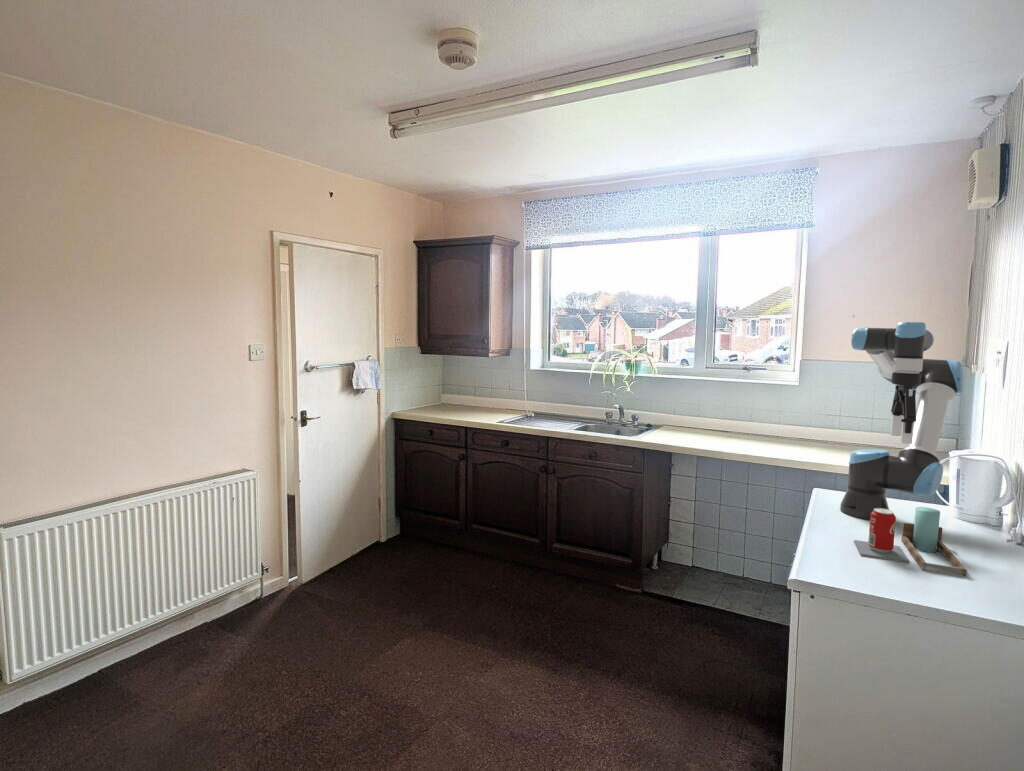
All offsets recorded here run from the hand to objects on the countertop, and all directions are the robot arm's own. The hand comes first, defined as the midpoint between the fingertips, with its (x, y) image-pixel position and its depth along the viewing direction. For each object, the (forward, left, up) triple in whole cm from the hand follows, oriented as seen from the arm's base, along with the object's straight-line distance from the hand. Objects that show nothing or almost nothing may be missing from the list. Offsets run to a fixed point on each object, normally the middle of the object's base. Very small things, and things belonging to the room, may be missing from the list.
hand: (900, 439), depth 180 cm
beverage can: (+16, -6, -31) cm, 36 cm away
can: (+7, +7, -32) cm, 33 cm away
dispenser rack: (+14, +7, -32) cm, 35 cm away
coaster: (+16, -6, -32) cm, 36 cm away
